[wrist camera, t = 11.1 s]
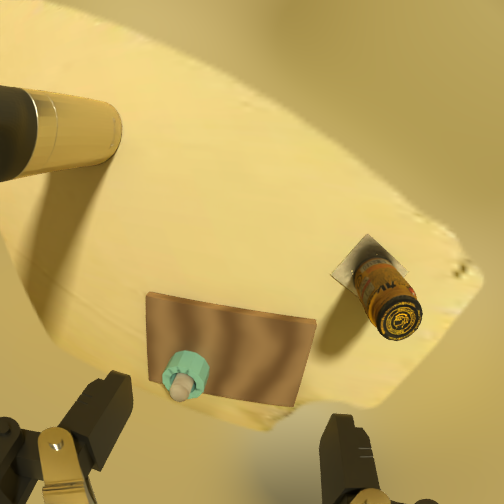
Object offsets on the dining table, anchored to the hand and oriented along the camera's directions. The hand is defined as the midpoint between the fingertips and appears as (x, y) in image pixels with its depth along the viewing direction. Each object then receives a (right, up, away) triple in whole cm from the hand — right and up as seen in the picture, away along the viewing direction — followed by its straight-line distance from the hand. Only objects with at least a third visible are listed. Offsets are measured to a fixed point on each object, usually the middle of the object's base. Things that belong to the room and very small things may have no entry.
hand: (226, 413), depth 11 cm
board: (-3, -9, +36) cm, 37 cm away
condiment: (+17, +4, +30) cm, 35 cm away
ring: (-9, -11, +36) cm, 38 cm away
